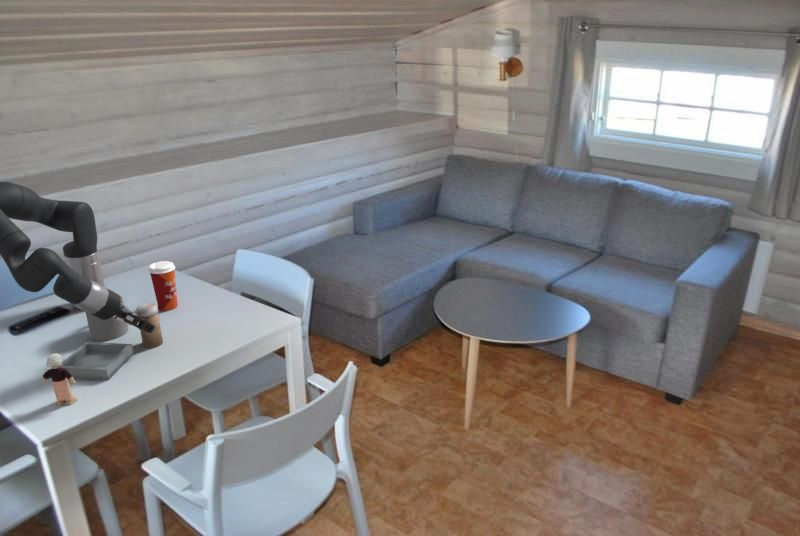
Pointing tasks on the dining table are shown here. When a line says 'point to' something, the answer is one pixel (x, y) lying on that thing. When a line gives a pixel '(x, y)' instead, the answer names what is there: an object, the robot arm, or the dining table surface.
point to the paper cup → (164, 284)
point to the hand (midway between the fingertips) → (144, 324)
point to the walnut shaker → (152, 317)
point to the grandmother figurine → (59, 380)
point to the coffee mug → (106, 327)
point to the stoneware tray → (97, 360)
